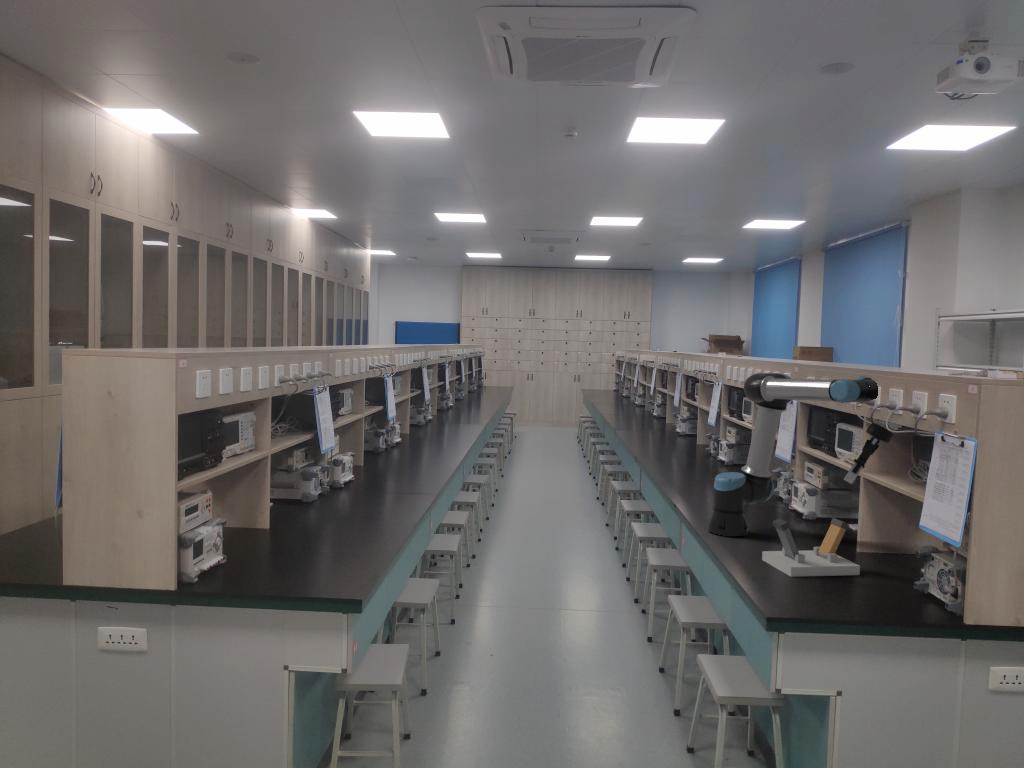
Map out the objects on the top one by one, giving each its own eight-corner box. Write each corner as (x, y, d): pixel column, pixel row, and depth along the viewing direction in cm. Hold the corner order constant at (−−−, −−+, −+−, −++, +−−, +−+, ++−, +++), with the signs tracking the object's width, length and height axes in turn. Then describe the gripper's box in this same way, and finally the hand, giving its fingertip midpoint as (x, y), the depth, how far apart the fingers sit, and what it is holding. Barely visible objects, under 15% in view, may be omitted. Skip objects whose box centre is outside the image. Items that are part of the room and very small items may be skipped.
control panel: (762, 559, 220) (762, 544, 220) (826, 558, 224) (827, 543, 224) (790, 576, 204) (791, 559, 203) (859, 574, 207) (860, 558, 207)
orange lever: (816, 553, 217) (832, 517, 217) (822, 556, 217) (839, 520, 218) (825, 558, 212) (843, 521, 212) (832, 561, 212) (849, 524, 212)
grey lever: (786, 557, 215) (772, 521, 214) (792, 553, 216) (778, 518, 214) (795, 561, 210) (780, 525, 209) (802, 558, 210) (787, 522, 209)
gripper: (897, 430, 200) (859, 488, 203) (891, 436, 222) (857, 487, 225) (873, 418, 204) (836, 474, 206) (870, 424, 226) (836, 475, 228)
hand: (847, 481), depth 216 cm, fingers open, 13 cm apart
